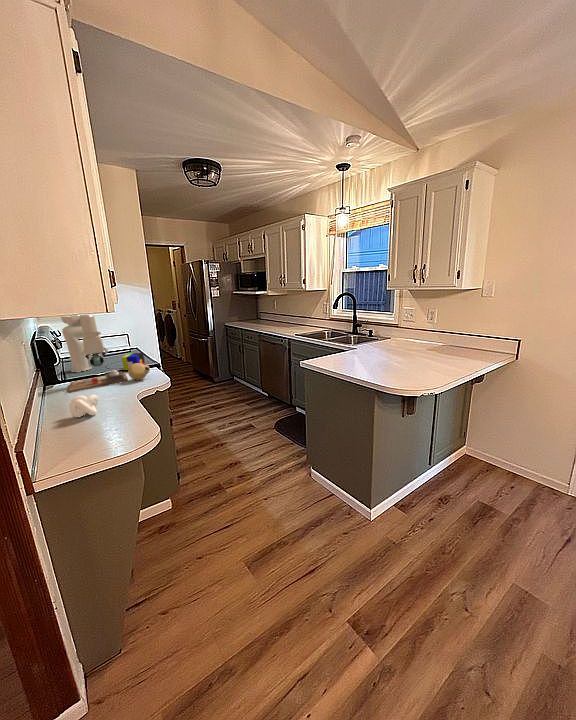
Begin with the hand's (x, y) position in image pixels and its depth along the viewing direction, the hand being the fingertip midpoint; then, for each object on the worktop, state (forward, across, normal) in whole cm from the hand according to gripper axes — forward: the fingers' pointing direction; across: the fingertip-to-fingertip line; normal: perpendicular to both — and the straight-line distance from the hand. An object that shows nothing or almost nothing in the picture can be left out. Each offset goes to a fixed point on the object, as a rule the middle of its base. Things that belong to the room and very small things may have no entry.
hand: (97, 364), depth 195 cm
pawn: (+1, 0, 0) cm, 1 cm away
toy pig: (+11, -21, +14) cm, 28 cm away
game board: (+11, +1, +3) cm, 11 cm away
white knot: (+12, +8, +54) cm, 56 cm away
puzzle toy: (+11, -21, -15) cm, 28 cm away
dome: (+8, -7, +8) cm, 13 cm away
